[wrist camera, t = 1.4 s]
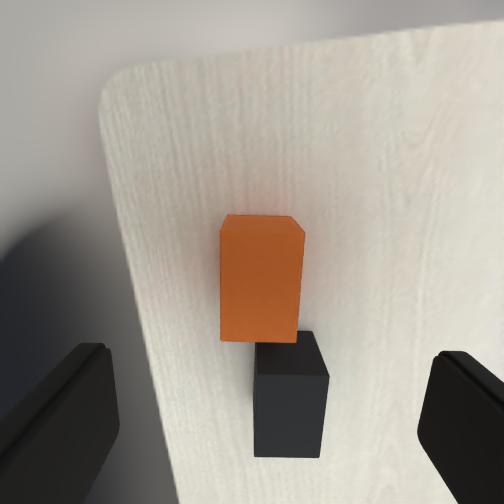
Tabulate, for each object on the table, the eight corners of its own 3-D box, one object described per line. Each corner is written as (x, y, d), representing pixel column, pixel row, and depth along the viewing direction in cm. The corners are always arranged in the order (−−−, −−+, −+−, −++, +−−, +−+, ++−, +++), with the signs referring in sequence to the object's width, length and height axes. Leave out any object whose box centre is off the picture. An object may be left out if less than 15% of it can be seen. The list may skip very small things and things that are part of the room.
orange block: (227, 214, 17) (219, 229, 13) (292, 216, 18) (305, 231, 13) (227, 302, 19) (220, 342, 15) (286, 304, 19) (296, 343, 15)
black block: (255, 329, 20) (257, 374, 15) (312, 331, 20) (330, 375, 15) (253, 399, 21) (253, 457, 17) (305, 400, 21) (319, 458, 17)
